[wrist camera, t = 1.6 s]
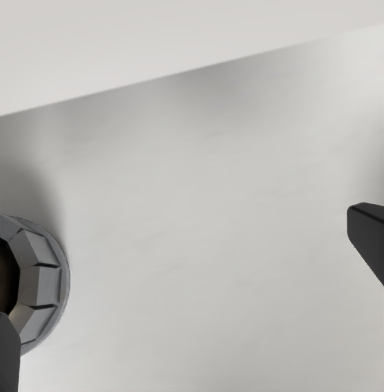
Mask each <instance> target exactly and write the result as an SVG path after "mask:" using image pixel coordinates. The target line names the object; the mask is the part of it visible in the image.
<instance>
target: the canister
mask: <svg viewBox="0 0 384 392" xmlns="http://www.w3.org/2000/svg"><path fill="white" fill-rule="evenodd" d="M20 271H21V269H20V267H19V265H18V263H17V261H16V258H15V256H14V254H13V252H12V250H11V249H10V248H7V247H2V246H0V312H3V313H5V314H6V315H7V316H9V315H10V313H11V312H12V310H13V309H14V307H15V306H16V304H17V300H18V291H19V281H20Z"/></svg>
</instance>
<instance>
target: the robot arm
mask: <svg viewBox="0 0 384 392" xmlns="http://www.w3.org/2000/svg"><path fill="white" fill-rule="evenodd" d="M347 234H348V237H349V240H350V241H351V243H352V244H353V246H354V247H355V248H356V250H357V251H358V252H359V254H360V255H361V256H362V258H363V259H364V260H365V262H366V263H367V264H368V266H369V267H370V269H371V270H372V271H373V273H374V274H375V275H376V277H377V278H378V279H379V281H380V282H381V283H382V284H383V286H384V206H380V205H375V204H370V203H365V202H362V203H358V204H355V205H352V206H350V207H349V208H348V210H347ZM20 356H21V338H20V335H19V333H18V332H17V330H16V329H15V327H14V325H13V324H12V322H11V321H10V319H9V317H8V316H7V315H6V314H5V313H3V312H0V392H18V383H19V369H20Z"/></svg>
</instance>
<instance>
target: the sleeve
mask: <svg viewBox="0 0 384 392" xmlns="http://www.w3.org/2000/svg"><path fill="white" fill-rule="evenodd" d="M0 246H2V247H7V248H10V249H11V250H12V252H13V254H14V256H15V258H16V261H17V263H18V265H19V267H20V269H21V271H20V281H19V291H18V300H17V304H16V306H15V307H14V309H13V310H12V312H11V313H10V315H9V316H8V317H9V319H10V321H11V322H12V324H13V325H14V327H15V329H16V330H17V332H18V333H19V335H20V338H21V356H22V355H24V354H26V353H28V352H29V351H31V350H32V349H34V348H35V347H37V346H38V345H39V344H40V343H41V342H42V341H43V340H45V339H46V337H47V336H48V335H49V334H50V333H51V332H52V331H53V329H54V328H55V326H56V325H57V323H58V322H59V320H60V318H61V316H62V314H63V312H64V309H65V307H66V304H67V300H68V296H69V289H70V273H69V266H68V263H67V259H66V256H65V254H64V252H63V250H62V248H61V246H60V245H59V243H58V242H57V241H56V240H55V238H54V237H53V236H52V235H51V234H50V233H49V232H47V231H46V230H45V229H43V228H42V227H40V226H38V225H36V224H34V223H32V222H30V221H27V220H24V219H21V218H18V217H12V216H6V215H4V214H1V213H0Z"/></svg>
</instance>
